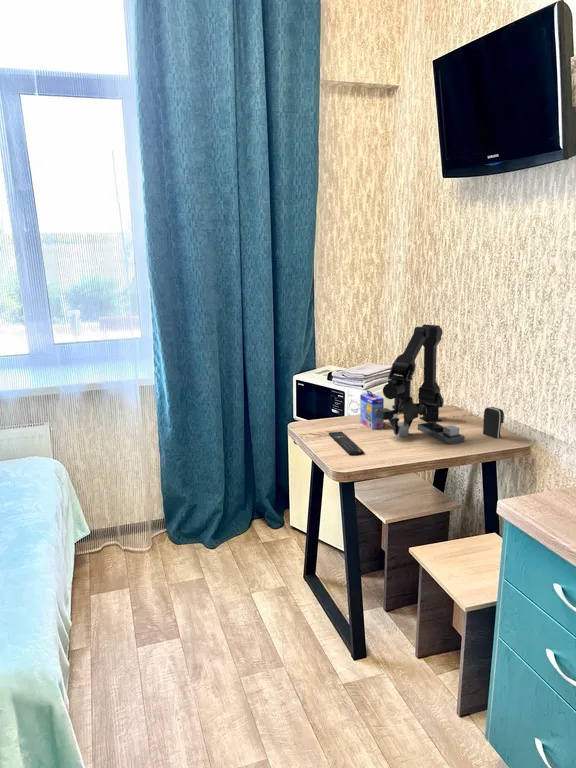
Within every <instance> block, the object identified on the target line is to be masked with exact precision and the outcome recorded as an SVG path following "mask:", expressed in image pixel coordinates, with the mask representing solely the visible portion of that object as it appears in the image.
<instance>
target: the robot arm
mask: <svg viewBox="0 0 576 768" xmlns="http://www.w3.org/2000/svg"><path fill="white" fill-rule="evenodd" d="M442 337H443V329H442V327H441V326H440V325H439V324H437V325H436V324H426V323H425V324H422V326H415V327H414V329H413V334H412V336H411V338H410V340H409V342H408V344H407V346H406V347H405V349H404V351H403V353H401V354H399V355H398V356H397V357H396V358H395V359H394V361H393V363H392V364H391V367H390V369H389V373H388V376H387V379H388V380H387V383H386V384H385V385H384V386H383V388H382V394H383V396H384V398H386V399H387V400H393V401H394V403H393V404H394V405H392V407H391V408H392V409H389V408H387V407H384V408H383V409H378V410H377V412H376V416H377V417H379V418H381V419H383V420H385V421H386V420H387V421H388V422H389V423H390V426H391V428H392V431H393V434H394V433H395V434H396V435H397V432H398V423H399V421H400V418H399V417H398V415H403V422H404V423H406V424H408V425H409V429H410V427H411V425H412V424H413V422H414V420H415V419H417V418H419V419H421V420H422V421H424V422H426V423H429V422H440V421H442V418H440V411H439V409H440V408H443V407H444V402H445V400H444V398H443V396H442V394H441V388H440V387H441V386H439V385H438V382H437V350H438V349H437V347H438V345H439V343H440V342H441V340H442ZM422 347H423V383H422V384H421V385H420V386H419V388H418V393H417V395H418V396H417V398H418V402H416V403H414V402H413V401H414V400H413V397H412V396H411V389H412V388H411V387H412V386H411V385H412V381H413V380H414V379H413V375H414V374H415V371H416V368H417V367H416V366H417V365H416V362H415V361H416V359H417V356H418V355H419V352H420V351H421V350H422ZM396 435H395V436H396Z"/></svg>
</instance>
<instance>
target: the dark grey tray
mask: <svg viewBox="0 0 576 768" xmlns="http://www.w3.org/2000/svg"><path fill="white" fill-rule="evenodd" d="M443 427H444V426H443V425H441V424H439V423H437V422H436V421H434V422H424V423H418V424H417V430H418V431H420V432H421V433H424V434H426V435H428V436H430V437H432V438H434V439H436V440H438V441H441V442H442V443H444V444H446V445H448V446H449V445H455V444H456V445H457V444H461V443H465V437H466V436H465V435H463V434H461V433H459V437H453V438H448V437H446V436H444V435H443Z"/></svg>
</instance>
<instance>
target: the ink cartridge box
mask: <svg viewBox="0 0 576 768" xmlns="http://www.w3.org/2000/svg"><path fill="white" fill-rule="evenodd" d="M359 397H360V401H359V402H360V405H359V407H360V409H359V410H360V414H359V417H360V418H359V419H360V421H359V423H360V424H361V425H364V426H366V427H367V428H368V429H371V430H376V429H377V430H378V429H383V428H384V420H383V419H381V418H379V417H377V416H376V412H377V410H378V409H383V408H385V407H384V406H385V405H384V400H385V399H384V398H383V397H382V396H379V395H376V394H374V393H373V392H372V391H370V390H368V389H366V393H362V394H360V395H359Z"/></svg>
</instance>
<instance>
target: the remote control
mask: <svg viewBox="0 0 576 768" xmlns="http://www.w3.org/2000/svg"><path fill="white" fill-rule="evenodd" d="M328 436H330V437H331V438H332V440H333V441H334V442H336V443H337V444H338V445H339V447H341V448H342V449H343V450H344V452H346V453H347V454H348V456H353V457H355V456H361V455H362V456H363V455H365V452H364V450H363V449H362V448H361V447H359V445H357V444H356V443H355V442H354V441H353V440H352V439H351V438H350V437H349V436H347V434H345V433H344V432H343V431H333V432H331V431H330V432H328Z"/></svg>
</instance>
